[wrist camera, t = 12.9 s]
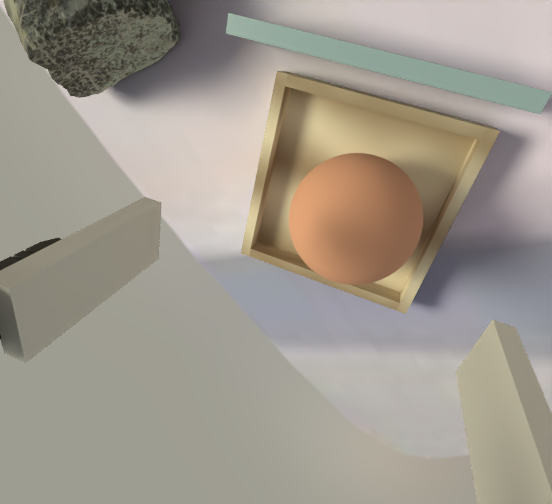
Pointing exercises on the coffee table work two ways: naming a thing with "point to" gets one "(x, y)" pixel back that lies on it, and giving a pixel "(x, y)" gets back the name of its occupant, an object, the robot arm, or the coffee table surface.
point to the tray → (371, 140)
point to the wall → (390, 64)
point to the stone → (93, 38)
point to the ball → (356, 218)
